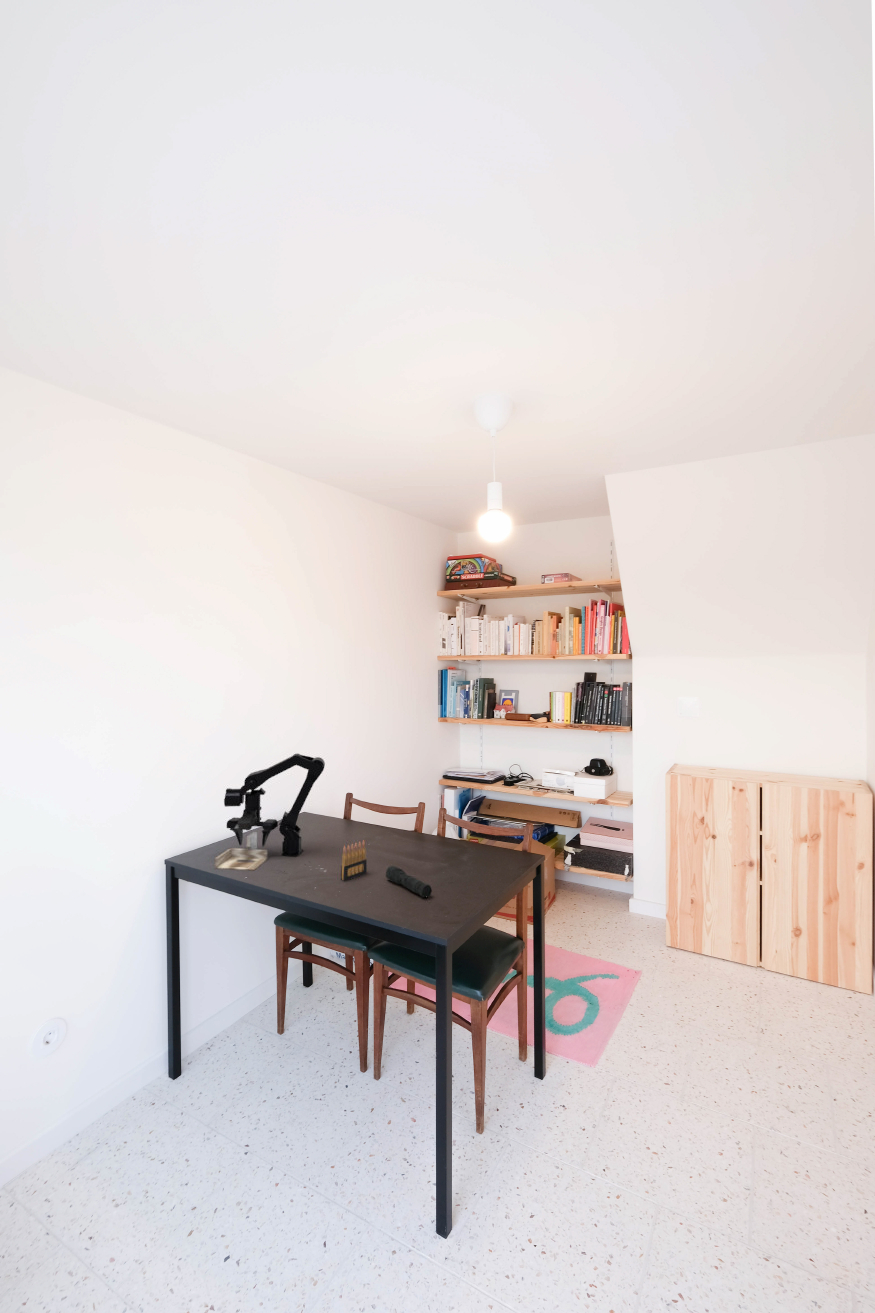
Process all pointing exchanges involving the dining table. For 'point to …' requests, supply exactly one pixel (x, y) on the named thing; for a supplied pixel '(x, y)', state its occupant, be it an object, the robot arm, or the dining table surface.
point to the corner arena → (241, 859)
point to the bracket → (252, 841)
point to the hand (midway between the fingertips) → (252, 845)
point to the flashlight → (408, 881)
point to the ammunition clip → (353, 862)
